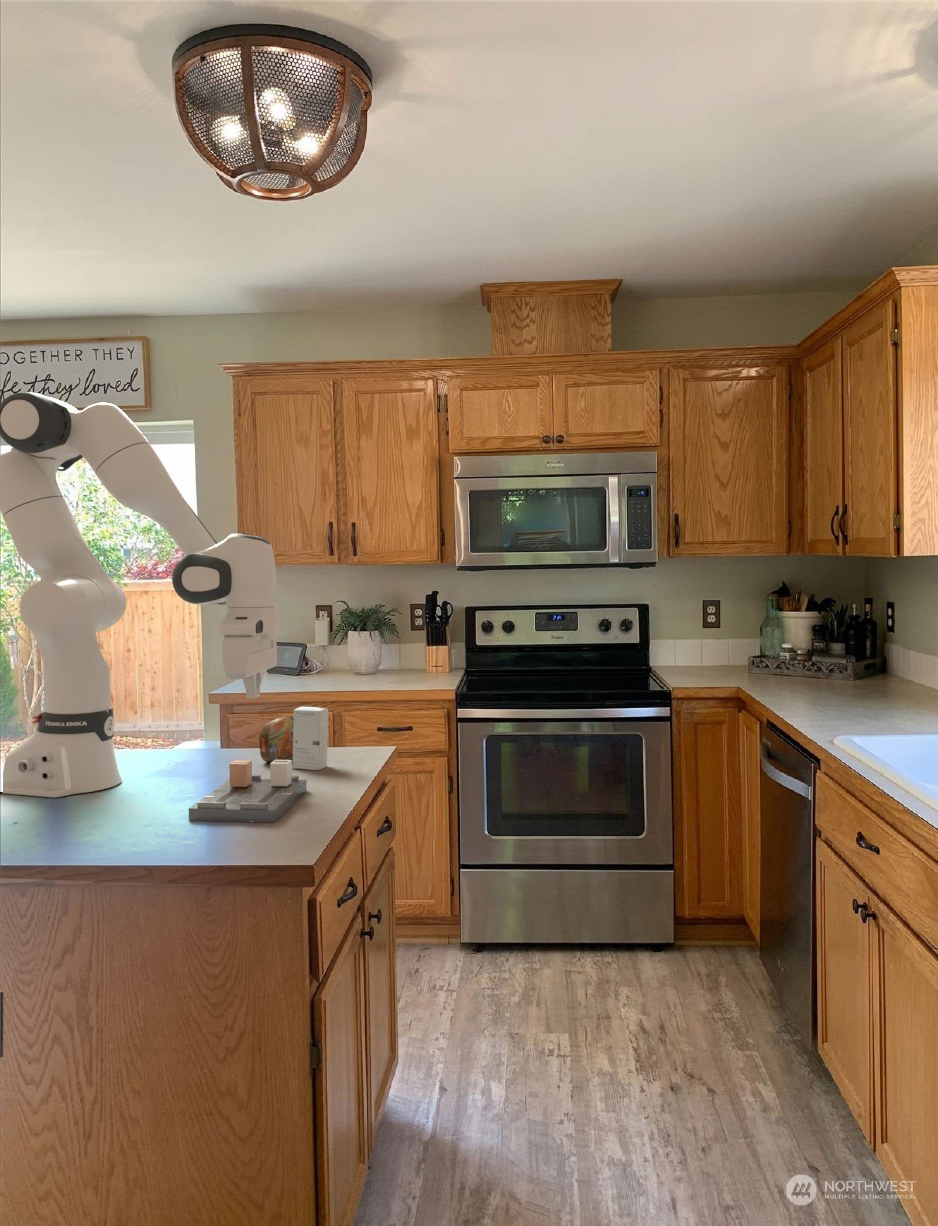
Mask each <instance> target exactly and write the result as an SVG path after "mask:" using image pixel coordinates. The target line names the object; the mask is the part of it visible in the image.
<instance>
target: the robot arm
mask: <svg viewBox="0 0 938 1226" xmlns="http://www.w3.org/2000/svg"><path fill="white" fill-rule="evenodd" d="M0 438H2V440H3V441H4V443H5V442H6V444H7V445H8V446H10V447H11V448H10V450H8V451H7V450H6V451H5V452H3V453H2V454H0V513H1V515H2V519H3V520H4V522H5V526H6V528H7V529H8V532H9V535H10V537H11V540H12V542H13V544H14V545H15V548H16V550H17V553H18V555H19V557H20V558H21V559H22V561H24V562H25V563H26V564H27V565H29V567H31V568H32V570H34V572H36V574H37V575H38V576H39V578H41V580H40V581H38V582H36V583H34V584H32V585H30V586H29V587H28V588H26V590H25V591H24V593H23V594H22V596H21V598H20V602H19V613H20V614H19V615H20V617H21V620H22V622H23V623H24V625H25V626H26V627H27V629H29V630H30V632H31V633H32V635H33V638H34V639H35V642H36V645H37V647H38V652H39V654H40V658H41V661H42V665H43V672H44V687H45V688H44V689H45V711H42V712H41V713H40V714H38V715H36V716H32V718H31V719H33V721H31V724H36V723H37V724H38V726H37V728H36V731H35V733H33V734H32V735H31V736H29V737H28V738H27V739H25V740H24V741H23V742H22V743H21V744H19V745H18V746H16V748H14V749H13V750H12V751H10V752H9V753H8V755H7V756H6V758H5V761H4V764H3V771H2V777H3V793H2V794H10V795H22V796H33V797H43V798H44V797H46V798H62V797H65V796H66V797H67V796H70V795H75V794H83V793H90V792H95V791H96V792H97V791H101V790H104V789H109V788H112V787H116V786H117V785H119V784H120V783H121V782H122V781H123V780H122V777H121V775H120V771H119V768H118V764H117V759H116V755H115V754H116V753H115V747H114V735H115V734H114V733H115V721H114V718H115V717H114V707H112V705H111V704H112V700H111V698H112V697H111V669H110V665H109V663H108V661H107V660H106V659H105V658H104V656H103V654H102V650H101V647H100V644H99V641H98V634H97V633H98V632H103V631H105V630H107V629H109V628H111V627H112V626H114V625H115V624H116V623H117V622H118V623H119V621H120V620H121V619H122V618H123V616H124V615H125V613H126V610H127V609H126V608H127V597H126V594H125V592H124V590H123V589H122V587H121V586H120V585H119V584H118V583H116V582H115V581H114V580H113V579H112V578H111V577H110V576H109V575H108V573H107V571H105V568H104V567H103V566H102V564H101V563H100V561H99V560H98V558H97V557H96V556H95V554H94V553H93V551H92V550H91V549H90V547H89V546H88V543H86V541H85V539H84V537H83V536H82V533H81V531H80V529H79V527H78V525H77V523H76V520H75V518H74V516H73V514H72V512H71V509H70V507H69V505H68V501H67V499H66V498H65V495H64V493H63V491H62V488H61V486H60V483H59V480H58V475H57V474H58V472H65V471H67V470H69V469H70V468H71V467H72V466H73V465H74V464H76V463H77V462H79V461H80V460H82V459H83V458H84V460H85V461H86V463H88V466H90V468H91V470H92V471H93V472H94V474H95V475H96V477H97V478H98V481H100V483H101V484H102V486H103V487H104V488H105V489H106V490H107V491H108V493H109V494H110V495H111V496H112V497H114V499H115V500H116V501H117V502H119V503H120V504H121V505H122V506H123V507H126V508H129V509H130V510H133V511H134V512H135V511H136V512H137V513H140V514H141V515H143V516H146V517H148V518H149V519H151V520H153V521H154V522H156V523H157V524H159V525H160V526H161V527H162V528H163V529H164V530H165V532H167V533H168V535H169V536H170V537H171V539H172V541H174V543H175V544H176V546H177V547H178V548H179V550H180V551H181V552H182V553H183V555H184V556H183V557H181V558H180V559H179V560H178V561H177V562H176V563H175V566H174V567H173V570H172V576H171V582H172V587H173V590H174V591H175V593H176V595H177V596H178V597H179V598H180V599H182V600H183V601H184V602H187V603H189V604H193V605H198V606H199V605H200V606H203V605H204V606H205V605H207V606H209V605H222V606H225V605H226V614H225V617H224V618H223V620H222V621H221V622H220V623H219V626H218V627H219V628H218V630H219V631H218V633H219V635H220V636H222V642H221V643H222V644H221V649H222V650H221V651H222V663H223V664H222V665H223V673H224V676H225V677H226V678H227V679H230V680H242V681H243V685H244V689H245V697H246V699H249V700H250V699H253V700H254V699H256V698H257V697H259V696H261V685H262V682H263V681H262V680H263V674H264V673H263V672H264V671H267V670H270V669H273V668H275V667H276V666H277V664H278V663H277V662H278V644H277V635H276V632H277V602H276V600H275V593H274V592H275V587H276V583H277V580H276V563H275V555H274V550H273V546H272V544H271V542H270V541H269V540H267V539H266V538H264V537H261V536H257V535H251V534H244V533H231V534H229V535H228V536H227V537H226V538H225V539H224V540H222V541H220V542H219V543H218V542H217V540H216V539H215V538H214V537H213V535H212V534H211V533H210V531H209V530H208V528H206V526H205V525H204V524H203V521H201V519H200V517H198V515H197V514H196V513H195V511H194V510H193V509H192V508H191V506H190V505H189V503H188V502H187V501H186V500H185V498H184V496H183V495H182V493H181V492H180V490H179V489H178V487H177V485H176V484H175V483H174V480H173V479H172V477H171V475H170V474H169V472H168V471H167V469H166V467H165V466H164V464H163V463H162V461H161V459H160V458H159V456H158V454H157V453H156V451H155V450H154V448H153V446H152V445H151V444H150V442H149V441H148V439H147V438H146V436H145V435H144V434H143V432H142V431H141V429H140V428H138V427H137V425H136V424H135V423H134V422H133V421H132V420H131V418H129V417H128V415H127V414H126V413H125V412H124V411H123V410H122V409H120V408H119V407H118V406H116V405H115V404H112V403H108V402H98V403H95V404H92V405H89V406H87V407H85V408H83V410H81V409H80V408H78V407H75V406H73V405H70V404H68V403H67V402H65V401H63V400H61V399H58V398H54V397H50V396H45V395H43V394H41V393H37V392H29V391H28V392H25V391H24V392H23V391H22V392H18V393H17V392H16V393H14V394H11V395H9V396H7V397H6V398H4V399H3V400H2V401H1V402H0Z"/></svg>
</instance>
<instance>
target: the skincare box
mask: <svg viewBox="0 0 938 1226" xmlns="http://www.w3.org/2000/svg"><path fill="white" fill-rule="evenodd" d="M293 718H294V721H293V754H292V769H301V770H311V771H320V770H323V769H324V768H326V767H327V766H328V740H329V739H328V737H329V736H328V735H329V733H328V731H329V708H328V707H319V706H318V707H317V706H299V707H297V708H295V709H293Z"/></svg>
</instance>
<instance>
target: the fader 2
mask: <svg viewBox="0 0 938 1226" xmlns="http://www.w3.org/2000/svg"><path fill="white" fill-rule="evenodd" d="M269 765H270V766H269V768H270V769H269V773H270V774H269V775H270V776H269V779H270V786H288V785H289V784H290V783H291V782H292V776H293V771H292V770H293V759H283V760H274V761H273V762H269Z"/></svg>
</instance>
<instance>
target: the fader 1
mask: <svg viewBox="0 0 938 1226" xmlns="http://www.w3.org/2000/svg"><path fill="white" fill-rule="evenodd" d="M252 763H253V762H252V760H250V759H249V760H246V759H241V760H239V759H237V760H236V759H235V760H233V761H232V762H230V763H229V766H228V767H229V768H228V769H229V780H230V786H231V787H247V786H248V785H250V784H251V783H252V775H253V774H252V773H253V766H252V765H253V764H252Z"/></svg>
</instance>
